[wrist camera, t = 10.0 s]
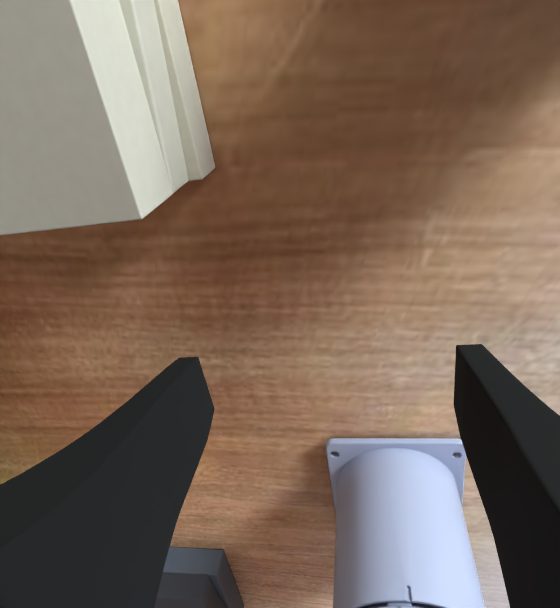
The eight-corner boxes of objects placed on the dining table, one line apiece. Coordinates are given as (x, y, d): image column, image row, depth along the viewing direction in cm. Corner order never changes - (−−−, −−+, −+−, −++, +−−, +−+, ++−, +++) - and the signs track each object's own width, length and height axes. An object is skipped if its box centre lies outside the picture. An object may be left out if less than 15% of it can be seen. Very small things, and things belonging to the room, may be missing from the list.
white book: (173, 193, 16) (142, 219, 14) (44, 210, 17) (-6, 236, 15) (81, -138, 12) (10, -186, 9) (-85, -87, 13) (-187, -118, 10)
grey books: (244, 605, 39) (234, 656, 35) (171, 599, 40) (155, 647, 37) (223, 547, 34) (209, 599, 31) (142, 543, 36) (121, 593, 33)
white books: (216, 167, 19) (189, 192, 16) (84, 185, 20) (33, 211, 17) (156, -102, 15) (101, -144, 11) (-7, -57, 16) (-98, -82, 13)
